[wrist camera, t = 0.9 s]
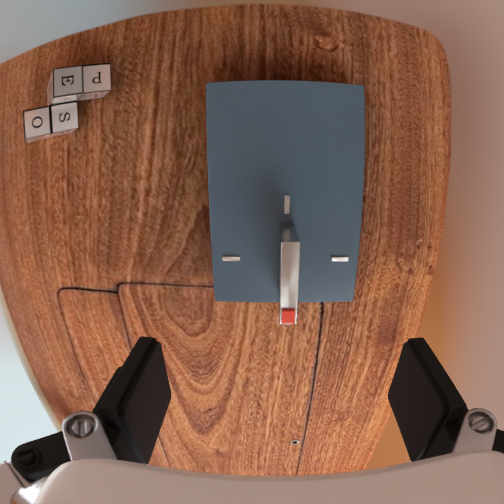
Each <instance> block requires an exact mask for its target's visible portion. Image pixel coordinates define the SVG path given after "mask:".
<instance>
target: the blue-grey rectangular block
mask: <svg viewBox="0 0 504 504" xmlns="http://www.w3.org/2000/svg"><path fill="white" fill-rule="evenodd" d="M206 124H207V162H208V189H209V211H210V231H211V248H212V264H213V280H214V294H215V301H227V302H278V272H279V223H280V222H294V223H295V226H296V229H297V233H298V236H299V240H300V265H299V287H298V302H347V301H353V297H354V289H355V281H356V272H357V263H358V254H359V243H360V232H361V219H362V204H363V185H364V155H365V105H364V86H363V85H356V84H346V83H334V82H320V81H297V80H247V81H225V82H210V83H206Z"/></svg>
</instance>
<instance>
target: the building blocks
mask: <svg viewBox="0 0 504 504" xmlns="http://www.w3.org/2000/svg"><path fill="white" fill-rule="evenodd" d="M110 91H111V66H110V63H102V64H89V65H79V66H71V67H63V68H55V69H52V72H51V75H50V78H49V81H48V85H47V106H44V107H39V108H34V109H29V110H25V111H23V132H24V143H28V142H32V141H36V140H40V139H45V138H49V137H54V136H59V135H64V134H69V133H74V132H75V131H76V130H77V129H78V128H79V125H78V110H77V101H79V100H86V99H94V98H103V97H104V96H106V95H107V94H108V93H109V92H110Z"/></svg>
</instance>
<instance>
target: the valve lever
mask: <svg viewBox="0 0 504 504" xmlns="http://www.w3.org/2000/svg"><path fill="white" fill-rule="evenodd" d="M299 265H300V240H299V236H298V233H297V229H296V226H295V223H294V222H280V223H279V272H278V302H279V324H296V323H297V306H298V287H299Z"/></svg>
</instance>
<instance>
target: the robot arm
mask: <svg viewBox="0 0 504 504" xmlns="http://www.w3.org/2000/svg"><path fill="white" fill-rule="evenodd" d="M388 399H389V402H390V405H391V408H392V410H393V413H394V415H395V418H396V421H397V423H398V426H399V429H400V431H401V434H402V437H403V440H404V443H405V446H406V448H407V451H408V454H409V457H410V460H411V461H412V462H409V463H404V464H399V465H393V466H388V467H382V468H376V469H370V470H362V471H354V472H345V473H335V474H323V475H306V476H243V475H226V474H214V473H203V472H195V471H187V470H179V469H171V468H165V467H158V466H153V465H147V464H148V463H149V461H150V458H151V455H152V452H153V449H154V446H155V443H156V440H157V437H158V434H159V431H160V429H161V426H162V423H163V420H164V417H165V414H166V411H167V408H168V406H169V403H170V400H171V390H170V385H169V381H168V376H167V372H166V367H165V362H164V357H163V352H162V347H161V343H160V342H157V341H156V339H155V338H152V337H140V338H139V339H138V341H137V343H136V344H135V346H134V348H133V349H132V351H131V353H130V354H129V356H128V358H127V359H126V361H125V363H124V364H123V366H122V367H119V368H118V369H117V370H116V372H115V373H114V375H113V377H112V379H111V380H110V382H109V384H108V385H107V387H106V389H105V390H104V392H103V394H102V395H101V397H100V399H99V401H98V402H97V404H96V406H95V408H94V409H93V411H92V412H89V411H77V412H74V413H72V414H70V415H69V416H67V417H66V419H65V420H64V421H63V424H62V431H61V432H58V433H55V434H52V435H49V436H46V437H43V438H40V439H37V440H34V441H31V442H27V443H25V444H22V445H20V446H18V447H17V448H16V449H15V450H14V452H13V453H12V457H11V462H9V463H7V462H6V461H4V462H2V463H1V464H0V504H504V431H501V430H499V429H497V421H496V418H495V417H494V415H493V414H492V413H491V412H489V411H488V410H485V409H481V408H474V409H471V410H468V409H467V407H466V406H467V405H466V403H465V402H464V400H463V399H462V397H461V395H460V394H459V392H458V390H457V389H456V387H455V385H454V384H453V382H452V381H451V379H450V377H449V376H448V374H447V373H446V371H445V370H444V368H443V366H442V365H441V363H440V362H439V361H438V359H437V357H436V356H435V354H434V353H433V351H432V350H431V348H430V347H429V345H428V344H427V342H426V341H425V339H424V338H410V339H409V340H408V341H407V342H406V343H404V345H403V348H402V351H401V355H400V358H399V361H398V365H397V368H396V371H395V374H394V377H393V380H392V383H391V386H390V389H389V392H388Z"/></svg>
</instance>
